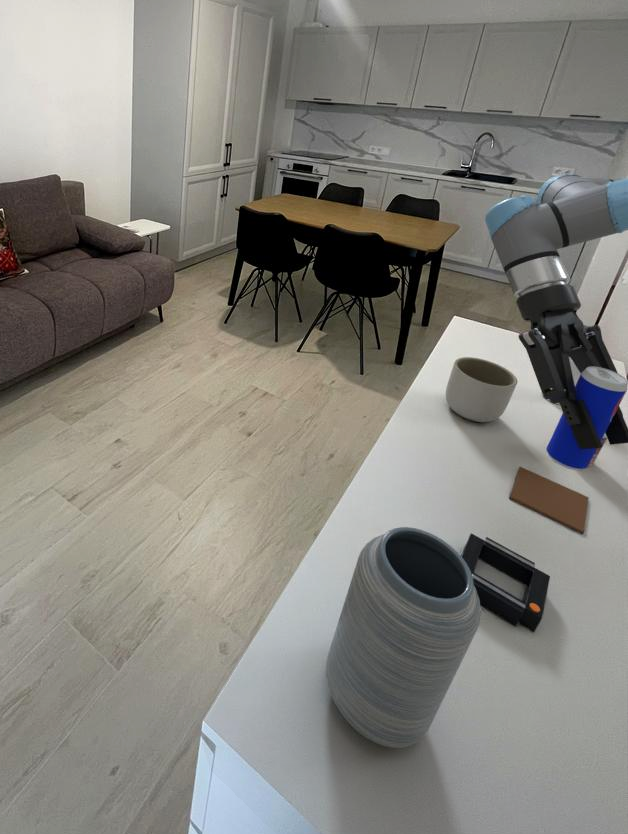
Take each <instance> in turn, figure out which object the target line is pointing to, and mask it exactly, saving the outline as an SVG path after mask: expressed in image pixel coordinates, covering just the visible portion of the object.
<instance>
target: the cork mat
mask: <svg viewBox="0 0 628 834" xmlns="http://www.w3.org/2000/svg"><path fill="white" fill-rule="evenodd" d="M589 498H590V497H589V496H587V495H585V494H582V493H580V492H578V491H576V490H573V489H571V488H570V487H567V486H564V485H563V484H560V483H558V482H556V481H553V480H551V479H549V478H547V477H544V476H543V475H540V474H537V473H536V472H534V471H531V470H529V469H526V468H524V467H522V466H519V468H518V470H517V474H516V477H515V479H514V482H513V485H512V489H511V491H510V494H509V497H508V499H510V500H512V501H513V502H516V503H518V504H520V505H522V506H523V507H526V508H528V509H530V510H533V511H534V512H537V513H538V514H540V515H542V516H544V517H547V518H549V519H550V520H552V521H555V522H557V523H558V524H561V525H563V526H565V527H567V528H569V529H570V530H571V529H572V530H573V531H575V532H578V533H579V534H581V535H583V534H584V533H585V526H586V519H587V511H588V505H589Z"/></svg>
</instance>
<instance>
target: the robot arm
mask: <svg viewBox="0 0 628 834" xmlns="http://www.w3.org/2000/svg"><path fill="white" fill-rule="evenodd" d="M484 221H485V224H486V226H487V227H486V228H487V230H488V233H489V237H490V240H491V242H492V244H493V247H494V249H495V252H496V254H497V257H498V259H499V262H500V265H501V267H502V269H503V272H504V274H505V275H506V278H507V282H508V284H509V286H510V288H511V291H512V294H513V296H514V297H517V299H516V301H515V303H516V306H517V308H518V310H519V313H520V316H521V318H522V320H523V321H525V322H528V323H530V330H527V331H525V332H522V333H520V334H518V340H519V341H520V342H521V344H522V346H523V347H524V348H525V350H526V353H527V356H528V358H529V362H530V364H531V366H532V370H533V372H534V375H535V378H536V380H537V383H538V387H539V389H540V391H542V394H543V396H544V397H543V396H542V397H543V398H544V399H545V400H547V399H549V400H550V401H549V402H550V403H551V404H553V405H554V404H555V403H559V404H560V405H559V404H558V405H559V406H560V409H561V411H562V414H564V416H565V419H566V421H567V423H568V424H569V425H570V427H571V429H572V432H573V434H574V437H575V440H576V442H577V445H578V447H579V450H581V449H592V448H602V449H603V447H604V445H603V446H602V444H601V442H600V439H599V437H598V434H597V432H596V429H595V427H594V425H593V422H592V420H591V417H590V415H589V412H588V410H587V407H586V405H585V403H584V400H583V399H581V400H576V399H577V395H576V390H575V385H574V380H573V375H572V370H571V365H570V360H569V357H570V358H571V359H572V361H573V362H574V364H575V365H576V367H577V369H578V370H579V372H580V373H582V372H583V371H584V370H585V369H586V368H587V367H591V366H593V367H601V368H605V369H608V370H611V371H613V372H616V373H618V370H617V368H616V366H615V364H614V361H613V359H612V357H611V355H610V353H609V351H608V349H607V347H606V344H605V342H604V339H603V336H602V335H603V334H602V330H601V327H600V326H599V325H598V324H593V325H590V326H589V325H587V324H584V322H583V321H582V319H581V318H580V317H579V315H578V314H577V312H578V310H579V309H581V307H582V303H581V301H580V299H579V296H578V294H577V292H576V290H575V288H574V285H571V284H569V283H570V282H571V277H570V275H569V273H568V270H567V268H566V266H565V264H564V261H563V260H562V258H561V256H560V253H559V251H558V250H560V249H564V248H567V247H571V246H575V245H578V244H582V243H586V242H589V241H593V240H597V239H600V238H604V237H608V236H612V235H616V234H622V233H624V232H626V231H628V177H627V178H626V177H625V178H603V177H583V176H580V175H577V174H567V173H565V174H558V175H555V176H553V177H551V178H549V179H547V180H546V181H545V182H544V183H543V184H542V185H541V187H540V189H539V190H538V193H537V201H536V198H534V197H533V196H531V195H521V196H513V197H510V198H507V199H505V200H502V201H500V202H498V203H497V204H495V205H494V206H492V207H490V209H489V210H488V211H487V212H486V214H485V217H484ZM618 374H619V373H618ZM550 388H552V390H551V389H550ZM564 389H565V390H566V391H565V390H564ZM605 433H606V436H607V440H608V443H609V446H610V445H621V444H628V425H627V423H626V421H625V418H624V413H623V411H622V410H621V407H620V405H619V407H618V409H617V410H616V412H615V414H614V416H613V418H612V420H611V422H610V424H609V426H608V428H607V430H606V432H605Z"/></svg>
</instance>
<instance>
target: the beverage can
mask: <svg viewBox="0 0 628 834" xmlns="http://www.w3.org/2000/svg"><path fill="white" fill-rule="evenodd" d="M575 390H576V395H577V399H576V400H581V399H583V400H584V403H585V405H586V407H587V410H588V412H589V415H590V417H591V420H592V422H593V425H594V427H595V429H596V432H597V434H598V437H599V439H600V442H601V440H602V438H603V436H604V434H605V432H606V430H607V428H608V426H609V424H610V422H611V420H612V418H613V416H614V414H615V412H616V410H617V409H618V407H619V406H620V405H621V403H622V401H623V400H624V399H623V398H624V397H625V395H626V393H627V391H628V379H627V378H626V377H625V376H623V375H622V374H620V373H616V372H613V371H611V370H608V369H605V368H601V367H593V366H591V367H587V368H586V369H585V370H584V371H583V372H582V373H581V375H580V377H579V379H578V381H577V383H576V386H575ZM551 435H552V436H551V438H550V440H549V441H548V444H547V446H546V452H547V455H548V457H549V458H550V459H551V460H552V461H553V462H554V463H556V464H557V465H559V466H561V467H563V468H566V469H569V470H572V471H581V470H585V469H587V468H588V467H589V466H588V465H589V463H590V461H591V459H592V457H593V455H594V453H595V451H596V449H597V448H592V449H581V450H579V447H578V445H577V442H576V440H575V437H574V434H573V432H572V429H571V427H570V425H569V424H568V423H567V421H566V419H565V416H564V414H563V413H562V414H561V415H560V418H559V420H558V422H557V425H556V426H555V429H554V431H553V434H551Z"/></svg>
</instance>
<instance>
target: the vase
mask: <svg viewBox="0 0 628 834" xmlns="http://www.w3.org/2000/svg"><path fill="white" fill-rule="evenodd" d="M481 616H482V609H481V605H480V600H479V597H478V594H477V591H476V588H475V586H474V583H473V577H472V574H471V571H470V569H469V567H468V565H467V564H466V562H465V561H464V559H463V558H462V557H461V554H460V553H459V552H458V551H457V550H456V549H455V548H453V547H452V545H450V544H449V543H448V542H446V541H445V540H443V539H442V538H440V537H438V536H437V535H434V534H433V533H431V532H428V531H426V530H423V529H420V528H415V527H408V526H400V527H395V528H392V529H390V530H388V531H387V532H386V533H383V534H381V535H378V536H376V537H373V538H372V539H370V540H369V541H368V542H367V543H366V544H365V545H364V547H363V548H362V549H361V550H360V552H359V555H358V558H357V561H356V565H355V567H354V570H353V574H352V576H351V579H350V583H349V586H348V590H347V593H346V596H345V599H344V602H343V606H342V608H341V612H340V615H339V618H338V621H337V625H336V629H335V631H334V634H333V638H332V641H331V644H330V647H329V650H328V653H327V657H326V664H325V676H326V681H327V686H328V689H329V692H330V695H331V698H332V700H333V702H334V704H335V706H336V707H337V709H338V711H339V712H340V714H341V715H342V717H343V718H344V719H345V720H346V722H347V723H348V724H349V725H350V726H351V727H352V728H353V729H354V730H356V732H357V733H358V734H359V735H361V736H363V737H364V738H365V739H367V740H369V741H371V742H373V743H375V744H377V745H380V746H383V747H386V748H394V749H402V748H407V747H411V746H414V745H416V744H417V743H418V742H420V741H421V740H423V738H424V737H425V736H426V734H427V733H428V732H429V730H430V728H431V726H432V724H433V721H434V720H435V718H436V715H437V713H438V711H439V709H440V708H441V705H442V703H443V701H444V700H445V697H446V695H447V693H448V690H449V689H450V686H451V685H452V682H453V680H454V679H455V676H456V674H457V672H458V670H459V668H460V667H461V664H462V662H463V660H464V658H465V655H466V654H467V652H468V650H469V648H470V646H471V644H472V641H473V640H474V638H475V635H476V634H477V631H478V629H479V627H480V625H481Z"/></svg>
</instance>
